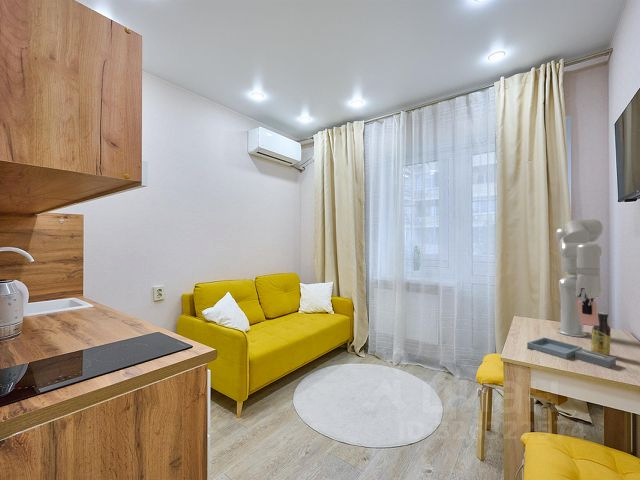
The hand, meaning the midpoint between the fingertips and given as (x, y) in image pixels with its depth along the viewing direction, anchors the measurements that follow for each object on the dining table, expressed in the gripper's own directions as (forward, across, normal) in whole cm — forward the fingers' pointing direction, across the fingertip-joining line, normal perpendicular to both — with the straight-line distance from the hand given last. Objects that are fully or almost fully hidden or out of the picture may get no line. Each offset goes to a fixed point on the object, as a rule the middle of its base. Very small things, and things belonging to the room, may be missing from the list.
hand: (588, 313), depth 128 cm
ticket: (+5, 0, 0) cm, 5 cm away
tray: (+21, 0, -13) cm, 24 cm away
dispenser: (+21, 0, +2) cm, 21 cm away
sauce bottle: (+21, -12, +1) cm, 24 cm away
